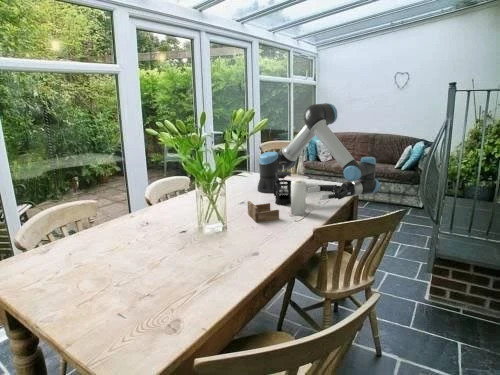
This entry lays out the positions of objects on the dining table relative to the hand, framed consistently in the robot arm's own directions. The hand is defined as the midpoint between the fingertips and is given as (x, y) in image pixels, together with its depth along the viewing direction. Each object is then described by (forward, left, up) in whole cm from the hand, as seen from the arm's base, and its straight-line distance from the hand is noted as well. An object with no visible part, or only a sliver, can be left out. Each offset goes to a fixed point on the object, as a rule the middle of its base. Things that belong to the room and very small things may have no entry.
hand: (314, 193), depth 169 cm
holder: (-2, -27, -9) cm, 29 cm away
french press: (-19, -9, -9) cm, 23 cm away
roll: (0, -9, -9) cm, 13 cm away
